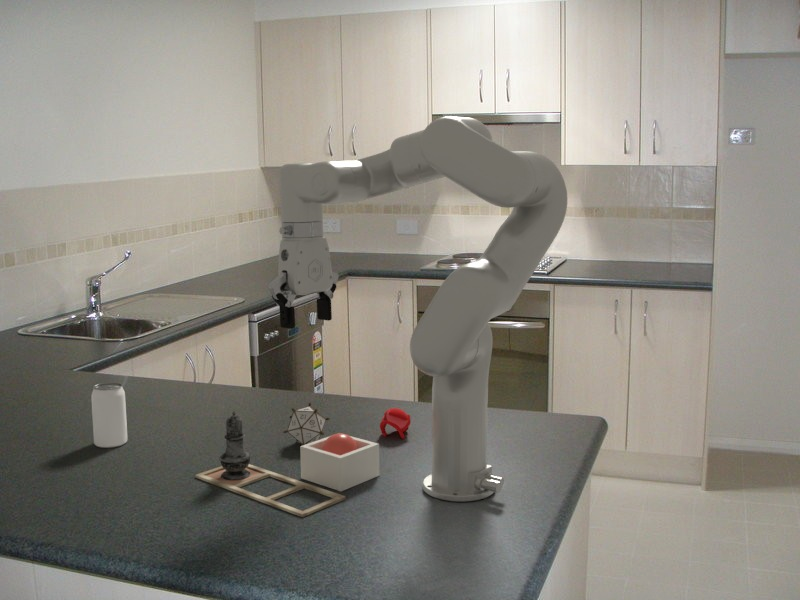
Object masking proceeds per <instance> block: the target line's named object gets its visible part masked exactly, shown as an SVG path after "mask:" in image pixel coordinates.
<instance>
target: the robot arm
mask: <svg viewBox="0 0 800 600" xmlns="http://www.w3.org/2000/svg"><path fill="white" fill-rule="evenodd" d="M278 174H279V175H278V177H279V181H278V182H279V196H280V197H279V198H280V199H279V201H280V218H281V219H280V220H281V227H279V234H280V235H281V240H280V243H279V251H278V263H277V265H278V266H277V269H278V271H277V272H278V275H277V276H276V277H275V278H274V279H273V280H272V281H271V282H269V284H268V285H267V287H268V290H269V292H270V295H271V298H272V300H273V301H274V302H275V305H276V306H277V307H279V324H280V327H281V328H282V329H295V327H296V316H295V313H296V312H295V306H292V305H293V303H294V301H295V299H296V297H297V296H307V295H312V294H316V295H317V296H318V297H317V298H316V317H317V320H319V321H320V320H321V321H331V320H332V319H333V316H332V300H333V298H334V292H335V291H336V289H337V284H338V281H339V277H340V275H339V273H337V272H335V270H332V269H333V267H332V260H331V253H330V248H329V243H328V240H327V237H324V220H323V219H324V218H323V205H336V204H345V203H358V202H362V201H366V200H369V199H374V198H377V197H380V196H384V195H388V194H391V193H395V192H398V191H401V190H402V189H403V190H405V189H409V188H412V187H414V186H419V185H422V184H425V183H429V182H432V181H435V180H439V179H443V178H445V177H446V178H447V179H449V180H450V181H452V182H453V183H454V184H457V185H459V186H460V187H462V188H463V189H465V190H467V192H470V193H471V194H473V195H474V196H476V197H478V198H480V199H482V200H483V201H485V202H487V203H488V204H490V205H493V206H497V207H500V208H505V209H506V208H507V209H509V208H513V209H512V211H511V212H510V214H509V216H508V217H507V218H505V220H504V222H503V223H502V224H501V225H500V226H499V228H498V229H497V231H496V233H495V234H494V236H493V238H492V239H491V241H490V242H489V244H488V246H487V248H486V249H485V250H484V251H483V253H482V254H481V256H480V257H479V258H478V259H476V260H475V261H472V262H468V263H466V264H463V265H461V266H458V267H457V268H456V269H454V270H453V271H452V272H450V274H449V275H448V276H447V277H446V278H445V279H444V281H443V282H442V283H441V285H440V286H439V288H438V290H437V291H436V293H435V295H434V296H433V298H432V299H431V301H430V303H429V304H428V306H427V307H426V309H425V310H424V313H423V314H422V316H421V317H420V319H419V320H418V322H417V324H416V325H415V328H414V329H413V332H412V334H411V337H410V341H409V353H410V357H411V359H412V363H413V364H414V366H415V367H416V368H417V369H418V370H419V371H420V372H421V373H423V374H425V375H427V376H429V377H433V378H432V389H431V391H432V392H431V473H430V474H429V475H427V476H426V477H425V478H424V479H423V480H422V489H423V491H424V492H425V493H426V494H427V495H428V496H431V497H433V498H436V499H439V500H441V501H442V500H443V501H448V502H463V503H464V502H474V501H479V500H483V499H487V498H488V497H489V496H491V495H493V494H494V493H497V494H500V493H501V492H502V490H503V485H504V482H505V480H504V477H501V476H498V475H493V466H492V465H491V464H487V463H488V461H487V460H488V459H487V458H488V457H487V455H488V451H487V450H488V403H489V402H488V399H489V397H488V396H489V375H490V367H491V366H490V365H491V360H492V359H491V358H492V351H493V343H494V342H493V332H492V328H491V326H490V324H489V321H491V319H493V318H494V319H495V318H496V317H498V316H501V315H503V314H504V313H506V312H508V311H509V310H510V309H511V308H512V307H513V306H514V304H515V303H516V301H517V300H518V298H519V297H520V295H521V293H522V291H523V290H524V288H525V286H526V285H527V283H528V282H529V280H530V279H531V277H532V275H533V274H534V273H535V271H537V268H538V266H539V265H540V263H541V261H542V260H543V258H544V256H545V255H546V254H547V252H548V250H549V248H550V247H551V246H552V244H553V242H554V240H555V239H556V238H557V236H558V234H559V233H560V231H561V228H562V226H563V223H564V221H565V216H566V214H567V211H568V210H567V208H568V191H567V186H566V183H565V180H564V176H563V175H562V172H561V171H560V169H559V168H558V166H557V165H556V164H555V162H553V161H552V160H551V159H550V158H549V157H547V156H546V155H544V154H542V153H539V152H536V151H523V150H522V151H521V150H520V151H512V150H509V149H507V148H506V147H504V146H502V145H500V144H498V143H496V142H495V141H493V136H492V135H491V131H490V130H489V128H488V127H487V126H486V125H485V124H484V123H483V122H481V121H480V120H478V119H476V118H472V117H466V116H465V117H464V116H452V115H449V116H448V115H447V116H441V117H439V118H437V119H434V120H433V121H431V122H430V123H429V124H428V125H427V126H426V128H424V129H423V130H422V129H421V130H419V131H416V132H412V133H408V134H406V135H402V136H399V137H397V138H394V140H393V141H392V143H391V145H390V148H388V149H387V150H385V151H382V152H379V153H376V154H373V155H369V156H366V157H364V158H363V157H362V158H359V159H354V160H325V161H319V162H314V163H313V162H303V163H302V162H301V163H300V162H299V163H298V162H297V163H286V164H284V165H282V166H281V167H280V168H279V173H278Z"/></svg>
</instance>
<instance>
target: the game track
mask: <svg viewBox="0 0 800 600" xmlns="http://www.w3.org/2000/svg"><path fill="white" fill-rule="evenodd" d="M245 469H246V470H247V471H249V472H250V476H249V477H248V478H245V479H242V480H225V479H223V478H221V474H222V473H223V472H225V471H226V470H225V469H224V468H223V467H222V465H221V466H217V467H215V468H211V469H208V470H205V471H202V472H200V473H197V474H195V475H194V478H195V479H199V480H201V481H202V482H203V481H204V482H206V483H208V484H212V485H214V486H217V487H220V488H223V489H225V490H228V491H231V492H233V493H236V494H239V495H242V496H244V497H247V498H250V499H252V500H255V501H257V502H260V503H263V504H266V505H269V506H271V507H273V508H275V509H279V510H281V511H284V512H287V513H290V514H292V515H295V516H298V517H300V518H305V517H306V516H307V517H308V516H310V515H312V514H313V513H315V512H316V513H317V512H319V511H321V510H323V509H325V508H328V507H330V506H333V505H334V504H335V505H336V504H338V503H340V502H343V501H344V500H346V499H347V498H346V495H343V494H339V493H336V492H333V491H331V490H327V489H324V488H322V487H319V486H316V485H313V484H310V483H307V482H303V481H301V480H298V479H296V478H295V479H294V478H291V477H289V476H285V475H283V474H280V473H277V472H274V471H271V470H268V469H265V468H262V467H259V466H255V465H253V464H250V463H249V465H248V466H247V467H246V468H245ZM269 477H270V478H273V479H276V480H279V481H283V482H284V483H285V482H286V483H288V484H291V485H293V486H292V487H289V488H287V489H284V490H282V491H279V492H277V493H274V494H271V495H269V496H266V497H265V496H262V495H259V494H257V493H254V492H252V491H249V490H246V489H243V487H245V486H247V485H250V484H254V483H256V482H259V481H261V480H264V479H266V478H269ZM303 489H305V490H308V491H311V492H315V493H317V494H321V495H323V496H326V497H329V498H331V499H329V500H325V501H323V502H321V503H319V504H316V505H314V506H311V507H309V508H307V509H304V510H301V509H298V508H295V507H294V506H289V505H287V504H285V503H282V502H279V501H276V500H278V499H280V498H283V497H285V496H288V495H291V494H292V493H295V492H299V491H300V490H303Z"/></svg>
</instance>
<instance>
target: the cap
mask: <svg viewBox="0 0 800 600" xmlns="http://www.w3.org/2000/svg"><path fill="white" fill-rule="evenodd" d="M387 425H388V426H391V427H392V428H394V429H395V430H397V432H398V434H399V436H400V438H401V440H404V439H405V434H404V432H406V431H408V430H409V426H410V425H411V415H410V414H407V412H405V411H404V410H402V409H400V408H395V407H394V408H389V409H387V410H386V411H385V412H384V414H383V417H382V419H381V421H380V423H379V428H380V431H381V434H382V435H383V437H387V435H388V434H387V431H386V428H387Z"/></svg>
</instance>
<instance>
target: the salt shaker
mask: <svg viewBox="0 0 800 600" xmlns="http://www.w3.org/2000/svg"><path fill="white" fill-rule="evenodd" d="M225 426H226V430H225V431H226V432H225V433H226V434H225V435H224V439H225V443H226V444H225V445H226V447H225V452H223V453H221V454H219V455H218V460H219V461H220V465H221V466H222V467H223V468H224V469H225V470H226V471H225V472H223V473H222V474H221V478H223V479H225V480H242V479H245V478H248V477H249V476H250V472H249V471H247V470H246V469H245V468H246V467H247V466H248V465H249V464H250V462H251V459H252V457H253V456H252V453H250V452H248V451H245V448H244V438H245V437H246V435H245V434H244V433H243V419H242V418H241V417H240V416H238V415H236V412H235V411H233V412H232V413H231V415H230V416H229V417H227V418H226V421H225Z"/></svg>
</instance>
